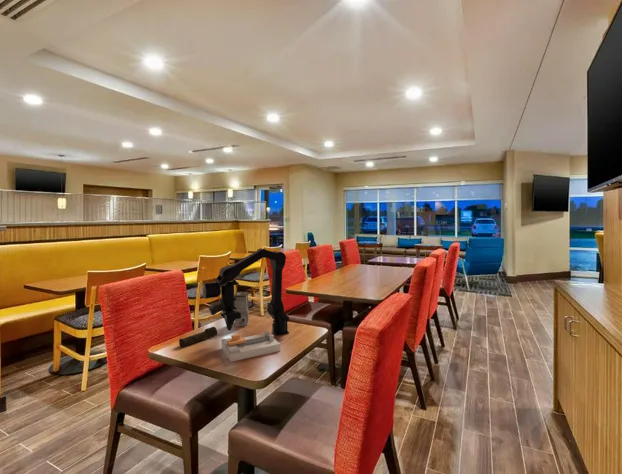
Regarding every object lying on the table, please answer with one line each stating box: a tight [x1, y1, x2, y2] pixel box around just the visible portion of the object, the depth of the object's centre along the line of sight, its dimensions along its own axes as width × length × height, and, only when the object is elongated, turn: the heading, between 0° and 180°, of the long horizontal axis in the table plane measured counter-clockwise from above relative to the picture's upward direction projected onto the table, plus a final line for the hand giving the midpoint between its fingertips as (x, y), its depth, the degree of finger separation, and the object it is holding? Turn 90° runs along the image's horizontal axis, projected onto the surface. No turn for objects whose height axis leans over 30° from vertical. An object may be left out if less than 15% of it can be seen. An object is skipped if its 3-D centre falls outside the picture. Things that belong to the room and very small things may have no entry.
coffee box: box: [234, 291, 250, 327], centre depth 176 cm, size 9×6×16 cm
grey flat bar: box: [236, 336, 269, 347], centre depth 141 cm, size 15×4×1 cm, turn 118°
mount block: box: [220, 330, 281, 362], centre depth 141 cm, size 21×15×6 cm
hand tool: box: [178, 326, 218, 348], centre depth 152 cm, size 19×4×5 cm, turn 140°
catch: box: [227, 333, 246, 346], centre depth 138 cm, size 7×4×3 cm, turn 118°
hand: (229, 330), depth 148 cm, fingers closed
